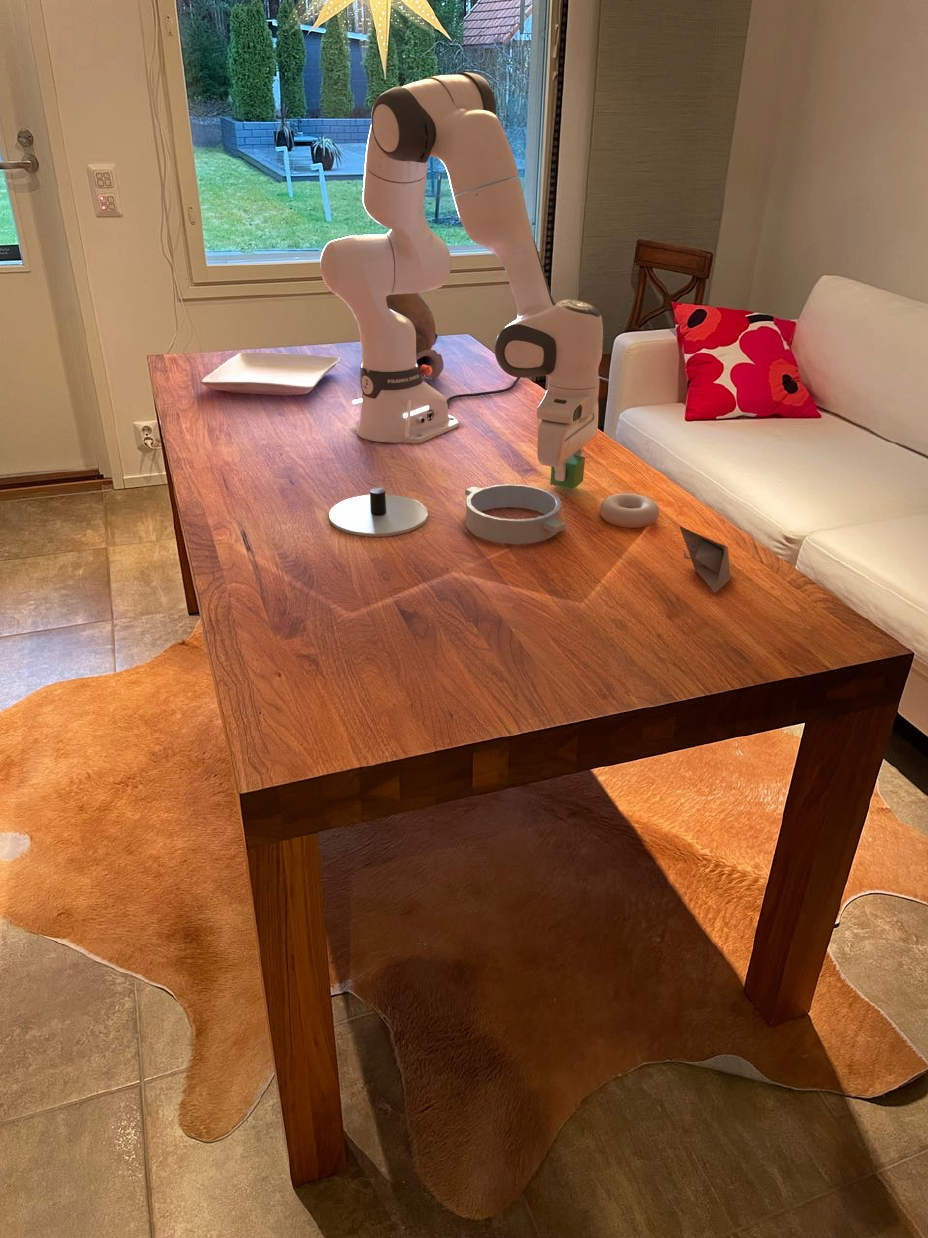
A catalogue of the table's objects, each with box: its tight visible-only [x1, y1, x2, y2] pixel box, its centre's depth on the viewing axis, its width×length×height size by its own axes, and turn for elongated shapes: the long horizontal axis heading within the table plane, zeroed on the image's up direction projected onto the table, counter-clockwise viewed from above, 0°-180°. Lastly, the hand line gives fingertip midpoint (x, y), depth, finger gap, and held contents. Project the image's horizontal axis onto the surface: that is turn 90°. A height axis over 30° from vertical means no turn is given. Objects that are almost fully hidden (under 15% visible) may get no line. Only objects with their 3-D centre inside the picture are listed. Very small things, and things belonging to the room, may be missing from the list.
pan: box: [464, 483, 567, 545], centre depth 153 cm, size 16×21×4 cm
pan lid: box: [328, 487, 429, 538], centre depth 154 cm, size 17×17×5 cm
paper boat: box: [679, 525, 732, 594], centre depth 138 cm, size 12×6×9 cm
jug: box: [386, 293, 445, 381], centre depth 235 cm, size 20×20×30 cm
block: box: [549, 455, 586, 490], centre depth 166 cm, size 5×5×5 cm
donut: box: [599, 492, 660, 529], centre depth 156 cm, size 10×4×10 cm
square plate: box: [200, 352, 341, 396], centre depth 225 cm, size 27×27×4 cm
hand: (566, 474), depth 167 cm, fingers closed on block, 4 cm apart
